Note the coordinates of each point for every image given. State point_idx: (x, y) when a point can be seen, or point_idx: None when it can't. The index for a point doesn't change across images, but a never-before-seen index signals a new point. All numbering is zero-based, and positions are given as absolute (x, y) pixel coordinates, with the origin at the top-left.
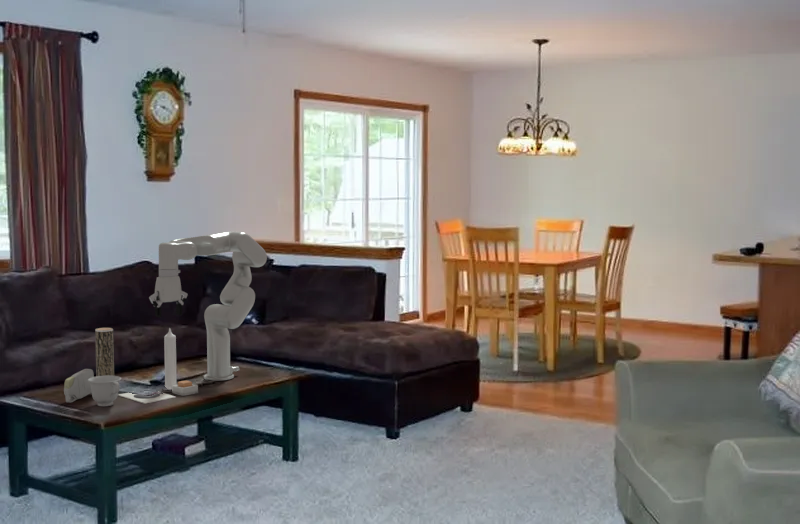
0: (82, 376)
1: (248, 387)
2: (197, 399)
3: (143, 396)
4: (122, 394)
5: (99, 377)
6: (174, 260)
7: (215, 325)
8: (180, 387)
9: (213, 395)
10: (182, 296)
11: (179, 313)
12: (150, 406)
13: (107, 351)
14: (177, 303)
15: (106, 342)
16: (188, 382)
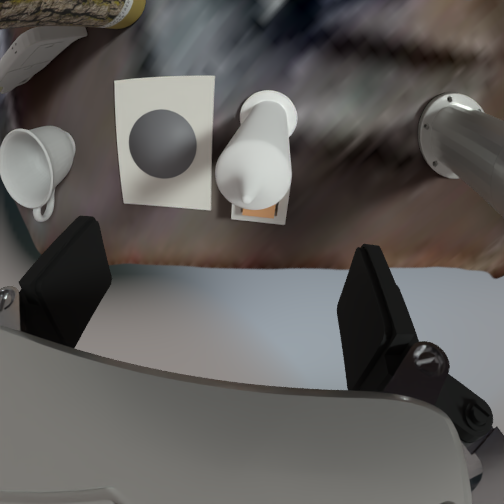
0: (12, 69)
1: (398, 265)
2: (237, 258)
3: (148, 149)
4: (122, 87)
5: (22, 132)
6: None
7: None
8: (235, 205)
9: (290, 259)
10: (477, 457)
11: (342, 306)
12: (125, 228)
13: (36, 25)
14: (387, 372)
15: (6, 28)
16: (260, 216)
